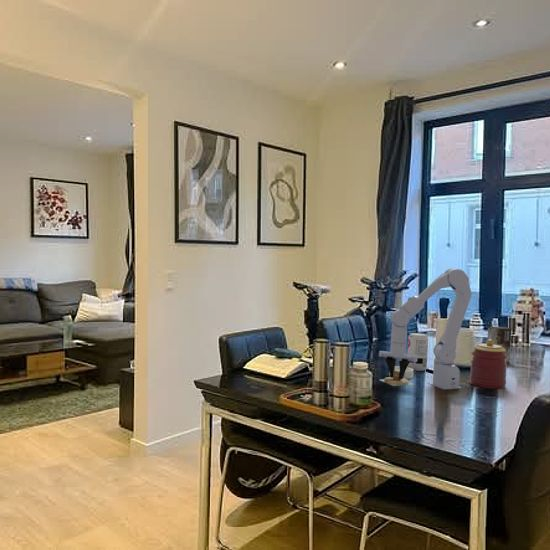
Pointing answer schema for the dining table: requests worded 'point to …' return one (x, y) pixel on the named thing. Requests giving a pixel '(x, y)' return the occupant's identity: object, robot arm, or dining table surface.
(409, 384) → the mat
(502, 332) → the coffee box
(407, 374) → the bowl
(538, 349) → the dining table surface
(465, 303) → the robot arm
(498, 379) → the canister
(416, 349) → the supplement can
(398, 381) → the lid
